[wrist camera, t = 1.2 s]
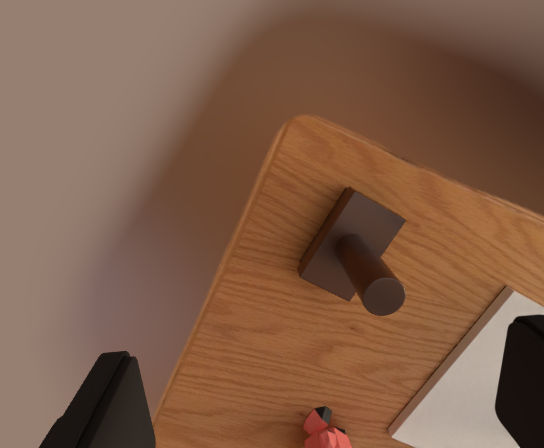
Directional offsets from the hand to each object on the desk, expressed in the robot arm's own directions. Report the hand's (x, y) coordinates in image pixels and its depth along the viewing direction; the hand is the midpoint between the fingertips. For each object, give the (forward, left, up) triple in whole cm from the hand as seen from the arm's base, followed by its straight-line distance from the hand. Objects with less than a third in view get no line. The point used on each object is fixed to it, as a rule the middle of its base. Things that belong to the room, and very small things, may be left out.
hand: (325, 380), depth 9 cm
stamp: (0, +6, -19) cm, 20 cm away
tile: (+6, +29, -19) cm, 36 cm away
